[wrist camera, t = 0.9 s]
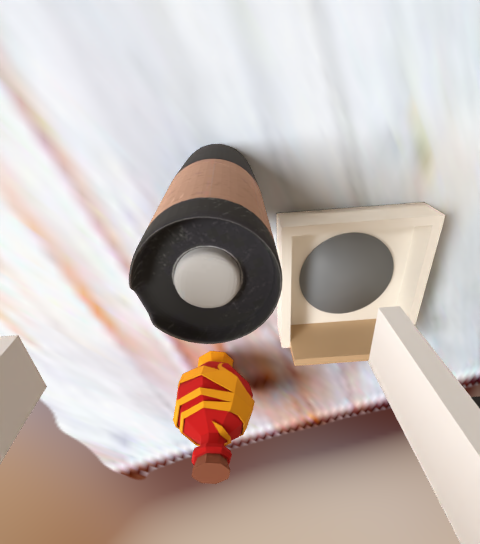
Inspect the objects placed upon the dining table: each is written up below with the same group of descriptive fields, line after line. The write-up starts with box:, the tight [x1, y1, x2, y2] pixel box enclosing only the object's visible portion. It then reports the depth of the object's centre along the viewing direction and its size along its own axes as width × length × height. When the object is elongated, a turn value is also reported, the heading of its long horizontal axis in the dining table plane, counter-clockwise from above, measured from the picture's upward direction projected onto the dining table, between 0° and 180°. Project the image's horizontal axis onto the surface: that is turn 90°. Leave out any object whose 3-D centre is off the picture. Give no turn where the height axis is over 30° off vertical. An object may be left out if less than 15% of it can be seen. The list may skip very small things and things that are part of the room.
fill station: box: [277, 202, 445, 366], centre depth 36 cm, size 16×16×7 cm
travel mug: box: [129, 144, 283, 344], centre depth 24 cm, size 8×8×20 cm
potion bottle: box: [173, 351, 254, 484], centre depth 39 cm, size 10×10×15 cm
